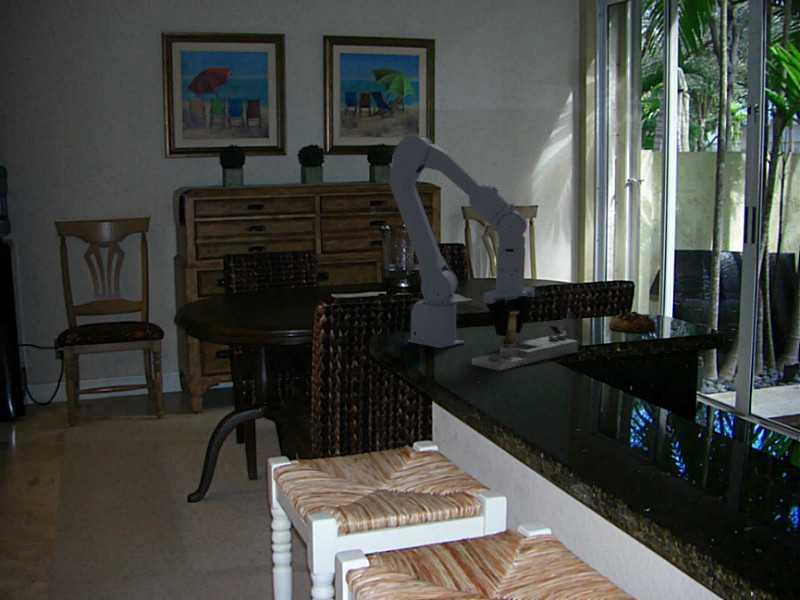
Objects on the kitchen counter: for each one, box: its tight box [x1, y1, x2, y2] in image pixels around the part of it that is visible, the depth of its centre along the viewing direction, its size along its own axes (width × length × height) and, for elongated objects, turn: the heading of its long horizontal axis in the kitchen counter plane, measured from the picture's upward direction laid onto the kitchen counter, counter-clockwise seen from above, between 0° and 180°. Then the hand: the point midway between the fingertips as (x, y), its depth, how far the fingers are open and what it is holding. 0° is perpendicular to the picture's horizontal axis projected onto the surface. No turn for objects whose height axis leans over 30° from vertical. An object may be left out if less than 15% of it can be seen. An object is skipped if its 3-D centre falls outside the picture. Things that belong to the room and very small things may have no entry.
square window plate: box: [471, 351, 551, 372], centre depth 185 cm, size 7×16×2 cm, turn 135°
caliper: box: [549, 312, 575, 340], centre depth 215 cm, size 20×1×6 cm, turn 3°
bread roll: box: [608, 311, 657, 334], centre depth 222 cm, size 11×11×5 cm
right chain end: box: [499, 333, 579, 360], centre depth 191 cm, size 7×17×3 cm, turn 135°
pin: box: [499, 309, 520, 345], centre depth 198 cm, size 4×4×7 cm
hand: (508, 334), depth 198 cm, fingers closed on pin, 4 cm apart
